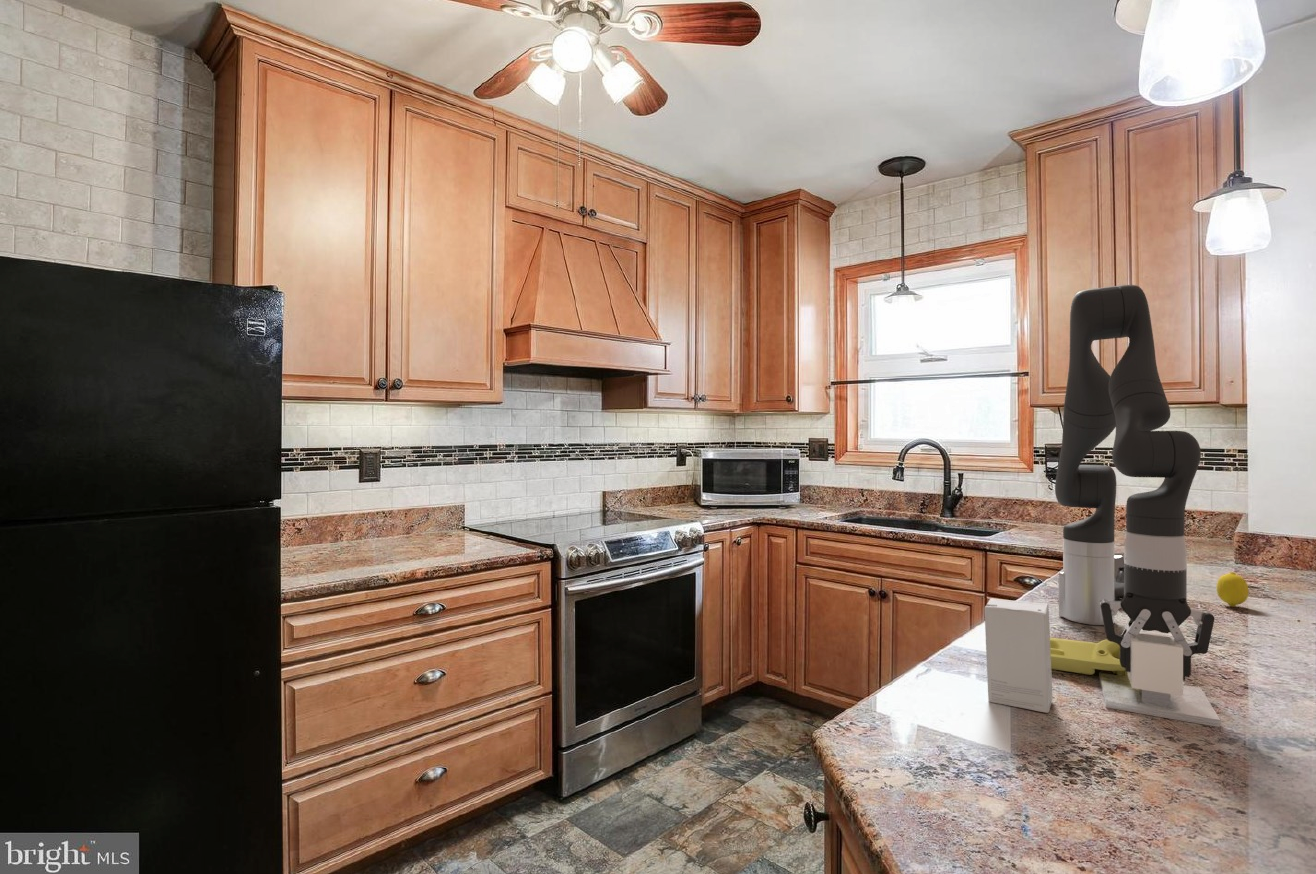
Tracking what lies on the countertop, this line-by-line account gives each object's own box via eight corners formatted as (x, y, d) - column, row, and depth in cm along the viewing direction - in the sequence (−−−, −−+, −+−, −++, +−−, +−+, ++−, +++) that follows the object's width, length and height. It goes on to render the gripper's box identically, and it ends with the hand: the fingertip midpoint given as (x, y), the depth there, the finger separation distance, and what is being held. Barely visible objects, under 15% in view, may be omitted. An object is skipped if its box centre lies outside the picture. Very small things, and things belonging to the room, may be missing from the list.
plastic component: (1011, 651, 115) (1022, 615, 122) (1019, 684, 117) (1030, 647, 124) (1151, 669, 102) (1155, 628, 108) (1157, 706, 104) (1161, 663, 110)
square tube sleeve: (1131, 688, 98) (1132, 641, 98) (1127, 674, 103) (1127, 630, 103) (1182, 696, 95) (1183, 647, 95) (1175, 682, 100) (1176, 636, 100)
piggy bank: (1090, 592, 165) (1090, 546, 165) (1165, 602, 155) (1165, 553, 155) (1081, 600, 157) (1081, 552, 157) (1160, 612, 147) (1160, 561, 147)
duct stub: (1105, 707, 97) (1105, 666, 97) (1099, 678, 108) (1099, 642, 108) (1220, 727, 90) (1220, 683, 90) (1200, 694, 101) (1201, 655, 101)
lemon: (1215, 602, 154) (1215, 568, 154) (1246, 606, 151) (1246, 571, 151) (1217, 607, 150) (1217, 572, 150) (1250, 611, 147) (1250, 575, 147)
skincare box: (1052, 701, 99) (1052, 603, 99) (1048, 716, 94) (1048, 612, 94) (990, 689, 104) (990, 595, 104) (984, 702, 99) (984, 603, 99)
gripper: (1099, 563, 99) (1098, 674, 99) (1222, 573, 92) (1222, 693, 92) (1095, 554, 106) (1095, 659, 106) (1210, 563, 98) (1210, 675, 99)
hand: (1154, 674), depth 99 cm, fingers closed on square tube sleeve, 5 cm apart
